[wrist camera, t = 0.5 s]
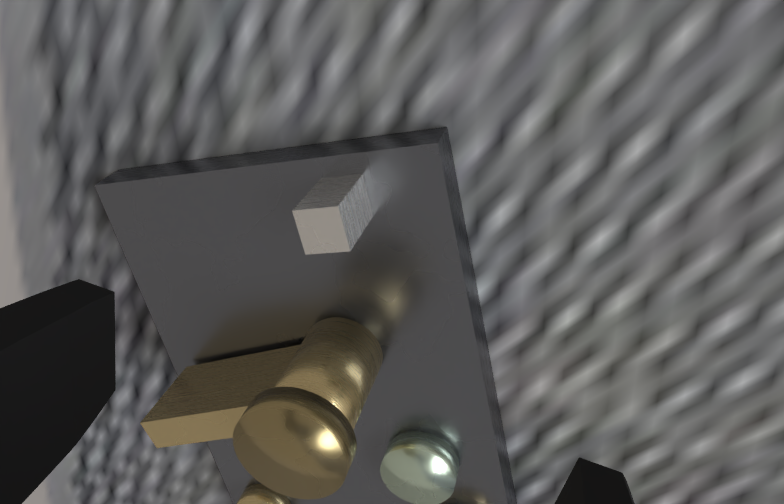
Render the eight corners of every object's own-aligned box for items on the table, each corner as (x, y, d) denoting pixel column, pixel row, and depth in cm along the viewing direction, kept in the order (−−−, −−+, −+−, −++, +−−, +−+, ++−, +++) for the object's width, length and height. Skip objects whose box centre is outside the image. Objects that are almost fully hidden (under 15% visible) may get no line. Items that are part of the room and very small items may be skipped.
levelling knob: (368, 299, 19) (315, 400, 16) (407, 382, 20) (365, 494, 17) (171, 342, 22) (87, 435, 18) (215, 413, 23) (143, 513, 20)
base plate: (525, 550, 24) (516, 634, 22) (268, 530, 28) (233, 601, 25) (446, 127, 18) (419, 174, 15) (118, 169, 21) (47, 214, 18)
